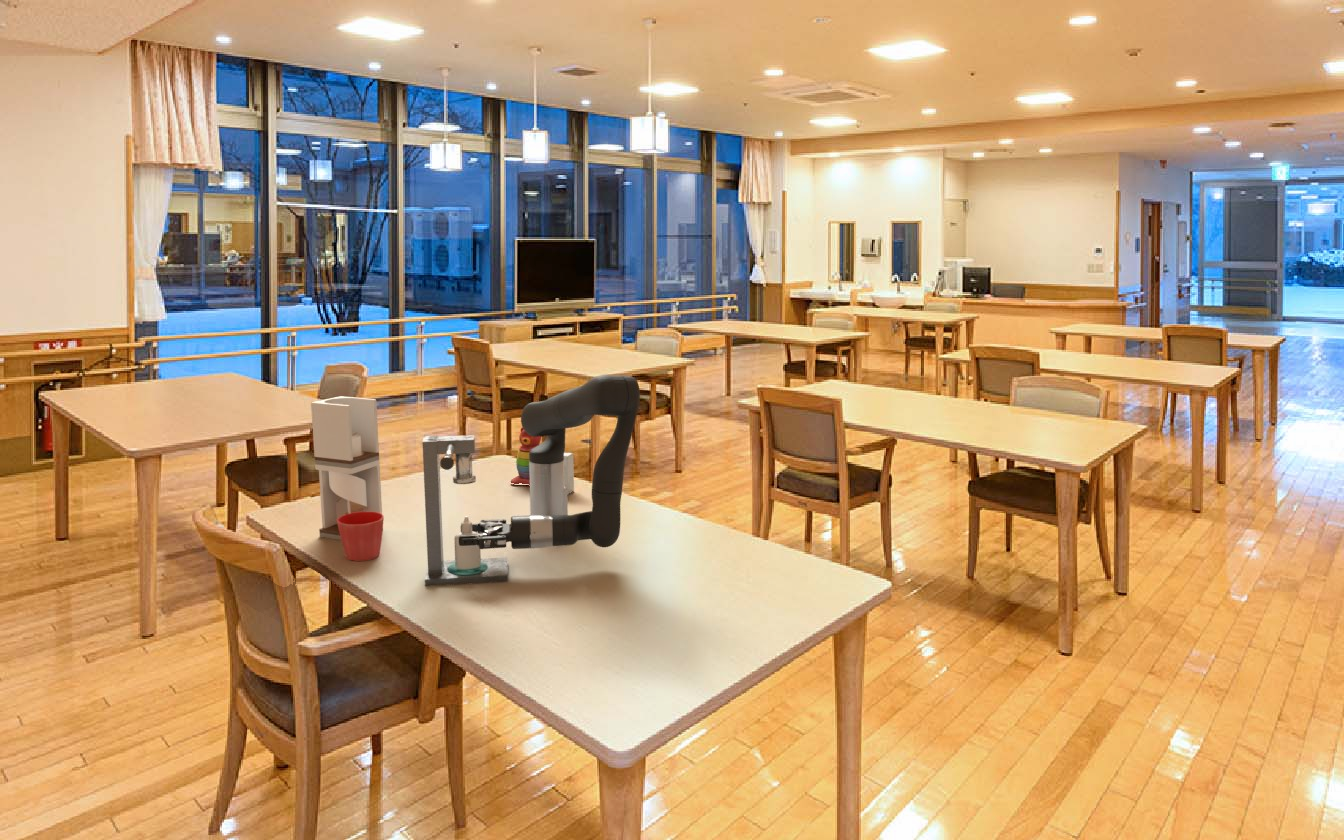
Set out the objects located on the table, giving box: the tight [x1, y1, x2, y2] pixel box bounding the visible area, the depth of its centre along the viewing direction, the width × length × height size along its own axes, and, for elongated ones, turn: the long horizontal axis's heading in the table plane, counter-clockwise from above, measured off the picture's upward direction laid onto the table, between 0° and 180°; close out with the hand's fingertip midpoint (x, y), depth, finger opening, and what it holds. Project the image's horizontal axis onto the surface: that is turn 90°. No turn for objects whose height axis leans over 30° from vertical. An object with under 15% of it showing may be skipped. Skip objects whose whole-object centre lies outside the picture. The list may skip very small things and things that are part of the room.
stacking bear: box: [510, 426, 542, 485], centre depth 295 cm, size 11×10×18 cm
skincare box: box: [564, 452, 575, 495], centre depth 285 cm, size 6×4×12 cm
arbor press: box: [421, 434, 509, 587], centre depth 207 cm, size 18×25×32 cm
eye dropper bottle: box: [453, 515, 482, 570], centre depth 214 cm, size 4×6×12 cm
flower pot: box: [337, 511, 385, 562], centre depth 227 cm, size 11×11×10 cm
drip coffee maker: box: [310, 395, 384, 541], centre depth 241 cm, size 11×11×35 cm
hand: (459, 535), depth 214 cm, fingers open, 8 cm apart
